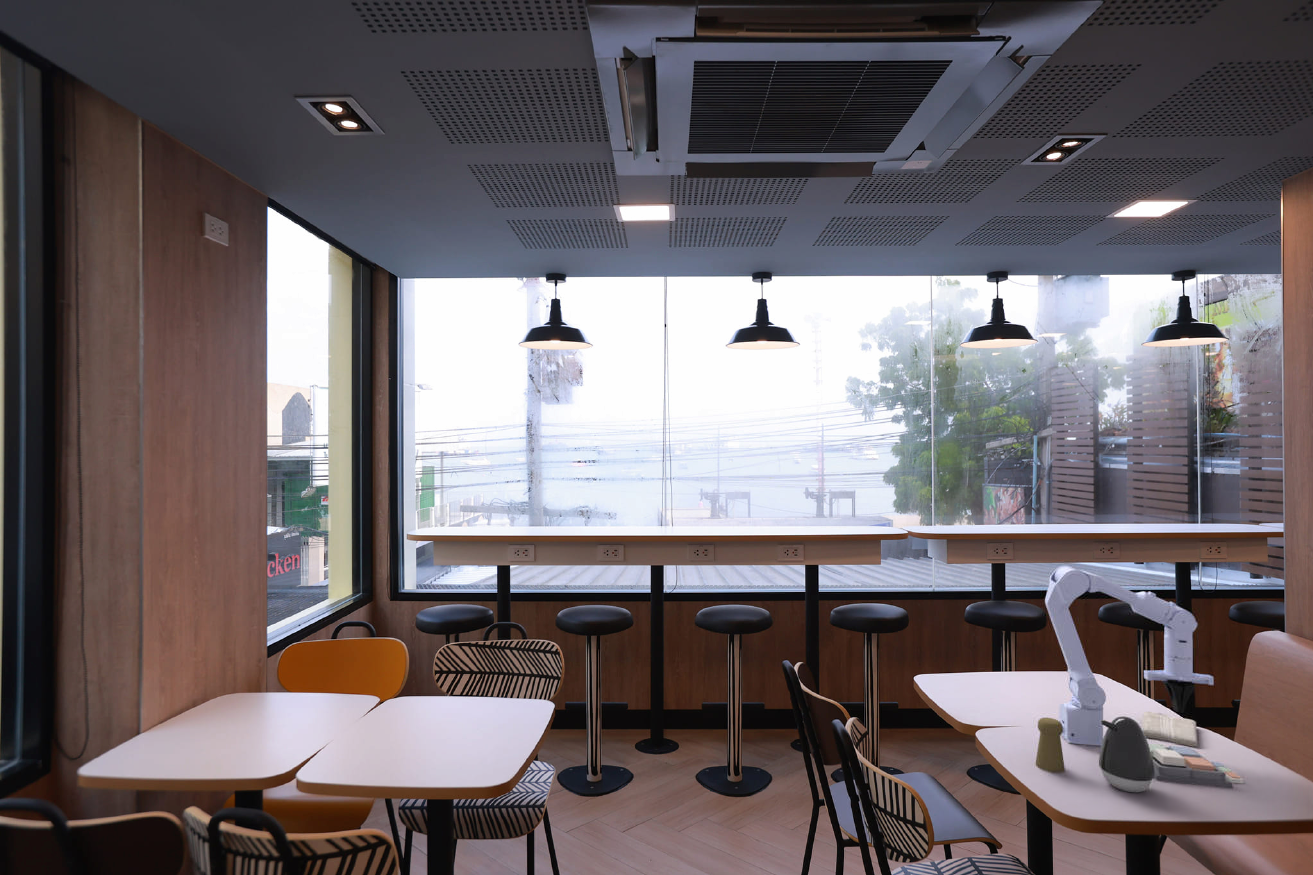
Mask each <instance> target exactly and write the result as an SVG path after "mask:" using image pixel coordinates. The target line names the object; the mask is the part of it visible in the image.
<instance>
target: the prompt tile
mask: <svg viewBox="0 0 1313 875" xmlns="http://www.w3.org/2000/svg"><path fill="white" fill-rule="evenodd" d="M1210 762H1211V763H1212V764H1213V765H1215V766H1216V767H1217V768H1219V769H1220V770H1221V771H1223V772H1224V773H1226V778H1227V779H1228V780H1229V781H1231V782H1232V783H1233V784H1234V783H1235V784H1236V783H1237V784H1244V779H1243V778H1242V777H1241V776H1240V775H1238V774H1237V773H1235V772H1234V771H1232V770H1231V768H1230V769H1229V768H1228V767H1227V766H1225V765H1224V764H1223V763H1222V762H1219V761H1217V762H1216V761H1210Z"/></svg>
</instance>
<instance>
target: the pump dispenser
mask: <svg viewBox="0 0 1313 875" xmlns="http://www.w3.org/2000/svg"><path fill="white" fill-rule="evenodd" d="M1101 724H1102V725H1103V727H1106V731H1105V733H1104V734H1103V741H1102V745H1101V746H1100V749H1099V757H1098V766H1099V768H1100V770H1101V773H1102V775H1103V778H1104V779H1105V780H1106V782H1108V783H1109V784H1110V785H1111V786H1113V787H1114V788H1116V789H1119V790H1121V791H1123V792H1129V793H1140V792H1144V791H1146V790H1147V789H1149V788H1150V786H1151V785H1152V781H1153V780H1154V779H1155V778H1154V765H1153V759H1152V754H1151V751H1150V747H1149V744H1150V743H1149V741H1148V740H1147V739H1148V738H1147V737H1145V734H1144V732H1143V728H1141V726H1140V724H1139V723H1138V722H1137V721H1136V720H1135V719H1133V718H1131V717H1128V716H1124V715H1123V716H1117V717H1116V718H1114V719H1113V720H1112V721H1111V722H1110V721H1108V720H1105V719H1103V720H1102V721H1101Z"/></svg>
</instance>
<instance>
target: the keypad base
mask: <svg viewBox="0 0 1313 875" xmlns="http://www.w3.org/2000/svg"><path fill="white" fill-rule="evenodd" d="M1163 747H1164V748H1166V749H1167V750H1169V746H1163ZM1192 750H1193V751H1195V750H1194V749H1192ZM1195 752H1196V753H1197V754H1199V752H1197V751H1195ZM1199 755H1200V758H1204V759H1206V758H1205V757H1204V756H1202V755H1201V754H1199ZM1152 759H1153V765H1154V779H1155V780H1156V781H1162V782H1163V781H1164V782H1171V783H1172V782H1173V783H1182V784H1193V785H1203V786H1213V787H1223V788H1231V789H1232V788H1233V786H1234V782H1231V781H1229V780H1228V779H1227V778H1226V773H1224V772H1223V771H1221V770H1220V769H1219V768H1217V767H1216V766H1215V765H1214V766H1215V771H1208V770H1198V769H1192V768H1190V767H1189V766H1188V765H1186V764H1185V766H1176V765H1166V764H1162V763H1161V762H1160V761H1158V760H1157V759H1156V758H1155V757H1154V756H1153V755H1152ZM1206 760H1207V761H1208V762H1210V763H1211V762H1212V761H1209V760H1208V759H1206ZM1211 764H1212V763H1211ZM1212 765H1213V764H1212Z"/></svg>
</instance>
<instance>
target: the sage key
mask: <svg viewBox="0 0 1313 875" xmlns="http://www.w3.org/2000/svg"><path fill="white" fill-rule="evenodd" d="M1148 744H1149V747H1150V751H1151V754H1152V755H1153V749H1164V750H1167V749H1166V748H1164V747H1165V746H1163V745H1162V744H1151V743H1148Z"/></svg>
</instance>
